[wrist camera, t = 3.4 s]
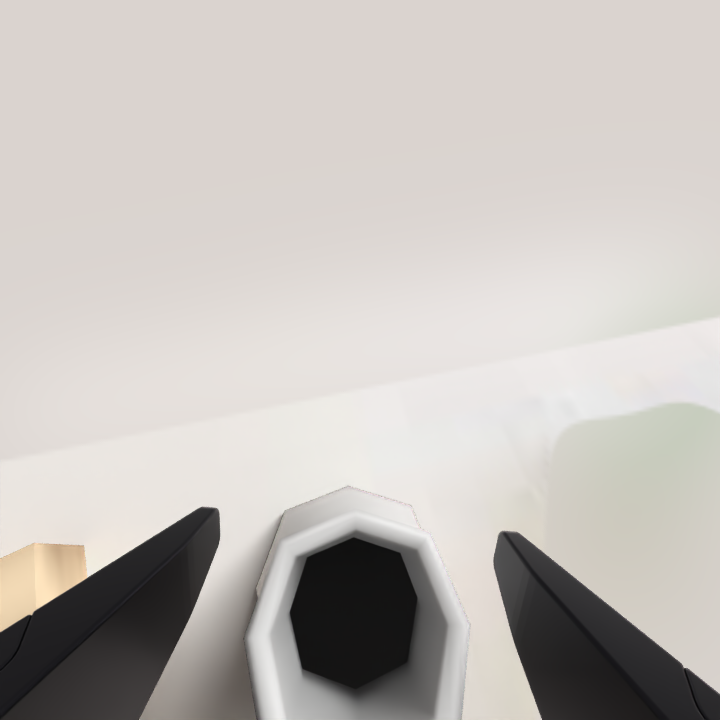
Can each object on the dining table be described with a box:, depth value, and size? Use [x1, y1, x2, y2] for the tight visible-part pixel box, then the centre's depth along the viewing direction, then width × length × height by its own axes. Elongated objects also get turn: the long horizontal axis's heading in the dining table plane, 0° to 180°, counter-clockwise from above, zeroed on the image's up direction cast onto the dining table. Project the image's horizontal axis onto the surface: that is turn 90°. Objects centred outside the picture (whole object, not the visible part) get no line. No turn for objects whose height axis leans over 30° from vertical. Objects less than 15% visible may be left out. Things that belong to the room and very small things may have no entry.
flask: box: [244, 486, 470, 720], centre depth 9 cm, size 7×7×10 cm
